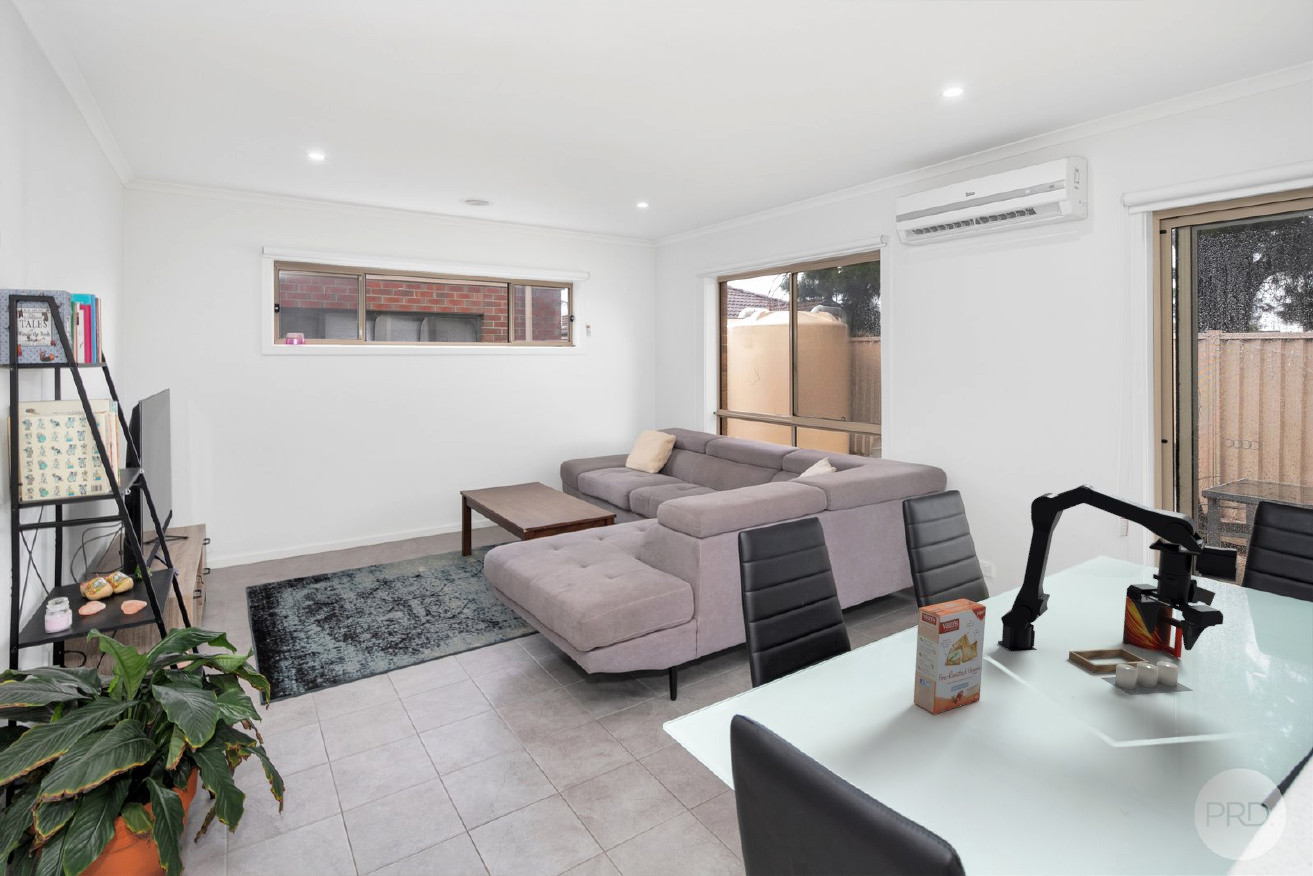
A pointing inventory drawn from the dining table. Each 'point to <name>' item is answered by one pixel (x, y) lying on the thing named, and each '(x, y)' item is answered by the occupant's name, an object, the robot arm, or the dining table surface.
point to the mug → (1161, 637)
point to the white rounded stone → (1126, 676)
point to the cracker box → (949, 654)
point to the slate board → (1146, 690)
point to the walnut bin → (1110, 667)
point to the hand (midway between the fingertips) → (1169, 641)
